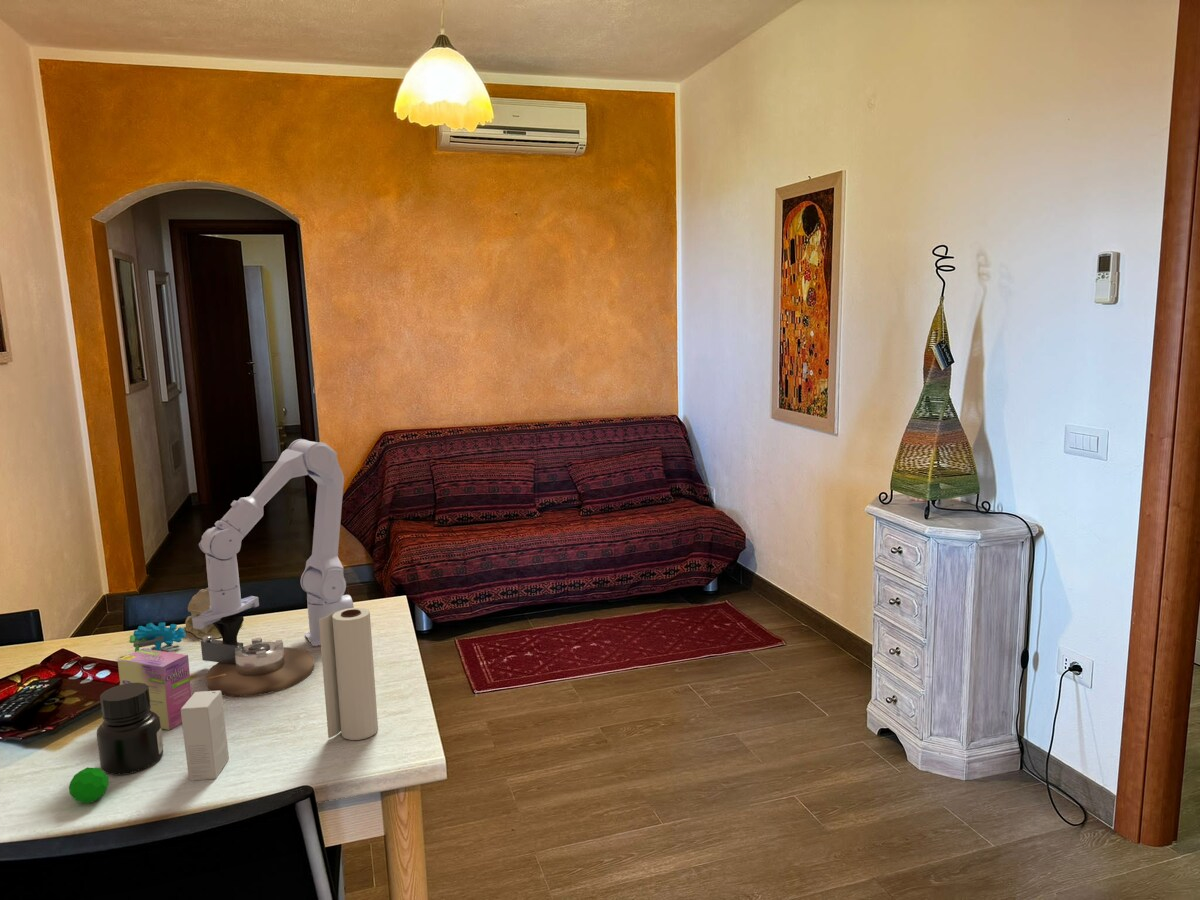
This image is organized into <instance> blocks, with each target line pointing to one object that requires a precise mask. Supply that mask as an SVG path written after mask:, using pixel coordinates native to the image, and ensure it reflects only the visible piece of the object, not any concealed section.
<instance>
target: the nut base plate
mask: <svg viewBox="0 0 1200 900" xmlns="http://www.w3.org/2000/svg"><path fill="white" fill-rule="evenodd" d="M283 647H284V658H285V664H284V665H283V666H282V667H281V668H279V669H278V670H275V671H273V672H270V673H266V674H262V675H251V676H250V675H242V674H239V673H238V672H237V671H236V664H228V663H220V662H216V664H214V665H212V667H211V668H209V669H208V671H207V672H206V675H205V680H206V681H205V682H206V687H207V689H208V691H221V693H222V696H225V697H251V696H260V695H265V694H270V693H275V692H278V691H281V690H283V689H287V688H289V687H293V686H294V684H295V685H296V684H299V683H301V682H302V681H304V680H305V679H307V678H308V677H309V676H311V674H312V673H313V672H312V671H314V669H315V659H314V655H312V653H310V652H308V651H307V650H306V649H301V648H296V647H286V646H283ZM300 681H301V682H300Z"/></svg>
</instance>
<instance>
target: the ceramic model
mask: <svg viewBox="0 0 1200 900" xmlns="http://www.w3.org/2000/svg"><path fill="white" fill-rule="evenodd" d="M209 607H210V596H209V587H206V588H204V589H203V588H202V589H199V591H198V592H197V593H196V594H194V595H193V596H192V598H191V599H190V601H189V603H188V605H187V611H188V612H189V613H190V615H189V616H187V617H186V619H185V622H184V624H185V632H188V633H191V634H193V635H194V636H195V637H196V638H199V639H202V637H204V636H207V635H211V636H212V639H220V637H221V638H222V636H221V634H220V632H219V631H218V629H217V628H216V627H215V626H214V624H213V623H212V624H209V625H207V626H204V628H203V629H195V628H193V622H192V619H193V618H196V617H198V616H200V615H201V614H203V613H204V612H206V611H207V610H209ZM242 626H243V627H244V624H243V623H242V625H241V627H242ZM241 627H240V628H241ZM243 627H242V628H243ZM242 628H241V629H242Z"/></svg>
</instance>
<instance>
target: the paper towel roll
mask: <svg viewBox="0 0 1200 900" xmlns="http://www.w3.org/2000/svg"><path fill="white" fill-rule="evenodd" d="M371 623H372V621H371V612H370V610H369V609H367V608H364V607H354V608H349V609H344V610H340V611H337V612H334V613H332V614H330V615H328V616H326V617H324V618H321V619H319V629H320V641H321V645H320V649H321V650H320V651H321V664H322V676H323V687H324V701H325V702H324V703H325V711H326V712H325V713H326V725H327V735H328V736H327V737H328V739H330V738H334V737H335V736H336V735H338V734H339V733H341V736H342V738H344V739H346V740H349V741H359V740H364V739H367V738H369V737H373V736H374V735H376V733H377V732H378V730H379V726H378V723H379V722H378V711H377V694H376V680H375V669H374V668H375V667H374V666H375V665H374V654H373V653H374V652H373V637H372V625H371Z"/></svg>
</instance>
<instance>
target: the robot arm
mask: <svg viewBox="0 0 1200 900" xmlns="http://www.w3.org/2000/svg"><path fill="white" fill-rule="evenodd" d="M303 476H309V477H310V478H311V479H313V481H314V482H315V483H316V485H317V488H316V497H315V498H316V500H315V510H314V511H315V512H314V523H313V524H314V527H313V535H312V550H311V555H310V556H309V558H308V559H307V560H306V561H305V568H304V571H303V573H302V574H301V576H300V581H299V582H300V586H301V588H302V590H303V591H304V592H306V600H307V601H306V602H307V603H306V604H307V613H308V614H307V615H308V628H309V632H306V633H305V635H304V636H305V637H307V638H308V639H307V638H306V639H307V640H308V641H309V643H310V642H311V643H310V644H311V645H312V647H319V646H321V641H320V629H319V619H321V618H324V617H326V616H328V615H330V614H332V613H334V612H337V611H340V610H344V609H349V608H355V607H354V603H353V602H354V601H353V599H352V596H351V595H350V594H345V592H346V588H347V581H346V578H345V577H344V576H345V575H344V566H343V565H342V561H341V560H340V559H339V547H340V546H339V545H340V543H339V542H340V531H341V521H342V506H343V498H344V497H343V496H344V485H345V475H344V473H343V470H342V468H341V466H340V463H339V461H338V452H336V451H335V450H334V449H333V448H332V447H331V446H329V445H328V444H327V443H325V442H320V441H319V442H317V441H312V440H311V441H310V440H309V439H304V438H299V439H295V440H293V441H292V442H291V443H290V444H289V446H288V447H287V448H286V449H285V450H283V451H282V452H281V454H280V456H279V458H278V460H277V461H276V462H275V464H274V465H273V467H272V468H271V469H270V470H269V471H268V472H267V474H266V475H265V476H264V478H263V479H262V480H261V481H260V482H259V484H258V485H257V487H255V489H254V491H252V493H251V494H250V495H249V496H246V497H245V496H244V497H239V499H238V500H235V499H234V500H232V502H231V503H230V506H231V507H230V509H229V510H228V511H227V512H226V513H225V514H223V516H222V518H220V519H219V520H217V521H215V523H214V526H212V527H210V528H207V529H206V530H205V532H203V534H202V535H201V539H200V542H199V543H198V547H199V549H200V550H201V552H203V553H204V554H205V563H206V564H205V565H206V574H207V575H206V576H207V586H208V587H209V596H210V607H209V610H207V611H206V612H204V613H203V614H201V615H200V616H198V617H196V618H193V619H192V622H193V628H195V629H203V628H204V626H207V625H209V624H212V623H213V624H214V626H215V627H216V628H217V629H218V631H219V632H220V634H221V636H222V637H221V639H222V641H231V642H238V634H239V631H240V630H241V629H240V627H241V625H242V623H243V622H244V619H245V618H244V615H241V614H239V613H241V612H244V611H246V610H248V609H251V608H257V607H260V602H259V601H260V600H259V597H258V596H254V595H250V596H247V597H244V598H242V597H241V586H240V577H239V576H240V575H239V566H238V565H239V564H238V559H237V558H238V557H237V556H238V555H237V554H238V553H239V552H240V551H241V549H242V548H241V547H242V540H244V538H245V537H246V536H247V535H248V534H249V532H251V530H252V529H253V528H254V527H255V525H257V523H258V522H259V521H260V520H261V519H262V518H263V517H264V512H265V511H264V506H266V504H268V502H269V501H270V500H271V499H272V498H273V497H275V495H276V494H277V493H278V492H279V491H280V490H281V489H282V488H283V487H284V486H285V485H286V484H287V483H288V482H289V481H290V480H291V479H293V478H298V477H299V478H300V477H303ZM208 587H207V588H208ZM318 645H319V646H318Z"/></svg>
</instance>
